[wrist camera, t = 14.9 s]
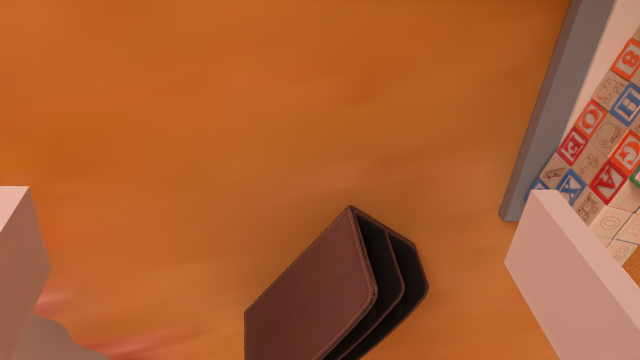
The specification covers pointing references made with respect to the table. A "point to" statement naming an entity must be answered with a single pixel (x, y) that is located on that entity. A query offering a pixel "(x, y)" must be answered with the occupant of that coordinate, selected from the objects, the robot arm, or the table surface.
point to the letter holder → (338, 295)
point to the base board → (569, 86)
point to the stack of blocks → (605, 158)
